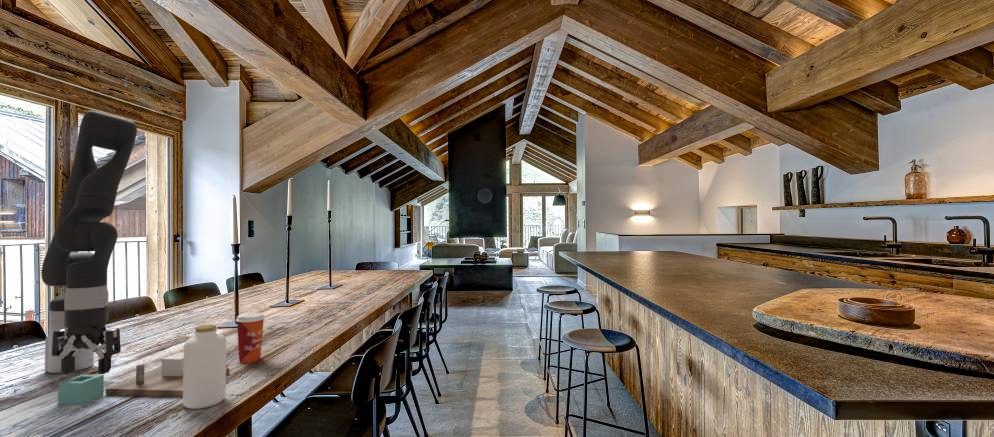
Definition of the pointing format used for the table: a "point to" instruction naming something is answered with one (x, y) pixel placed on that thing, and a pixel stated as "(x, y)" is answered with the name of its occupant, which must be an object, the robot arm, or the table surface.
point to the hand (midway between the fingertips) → (86, 373)
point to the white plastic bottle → (204, 368)
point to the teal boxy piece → (80, 389)
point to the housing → (173, 365)
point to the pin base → (150, 384)
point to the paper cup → (250, 336)
